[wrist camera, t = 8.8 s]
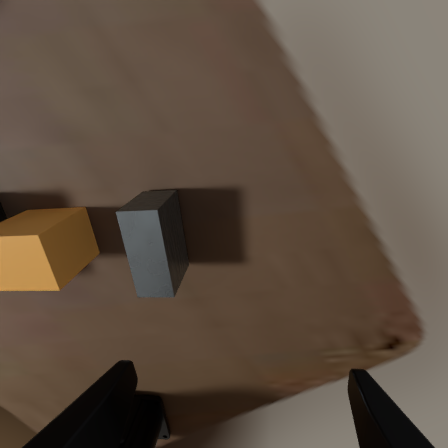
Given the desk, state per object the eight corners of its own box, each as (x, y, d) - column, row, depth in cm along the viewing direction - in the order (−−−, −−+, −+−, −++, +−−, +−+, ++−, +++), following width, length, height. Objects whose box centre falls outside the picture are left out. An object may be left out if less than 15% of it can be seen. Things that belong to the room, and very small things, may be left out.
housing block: (100, 252, 23) (59, 290, 18) (45, 254, 23) (-7, 290, 19) (86, 206, 21) (37, 235, 16) (27, 209, 22) (-34, 237, 17)
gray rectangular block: (188, 264, 21) (174, 297, 18) (158, 264, 22) (137, 297, 18) (176, 189, 19) (157, 210, 16) (142, 191, 20) (115, 211, 16)
